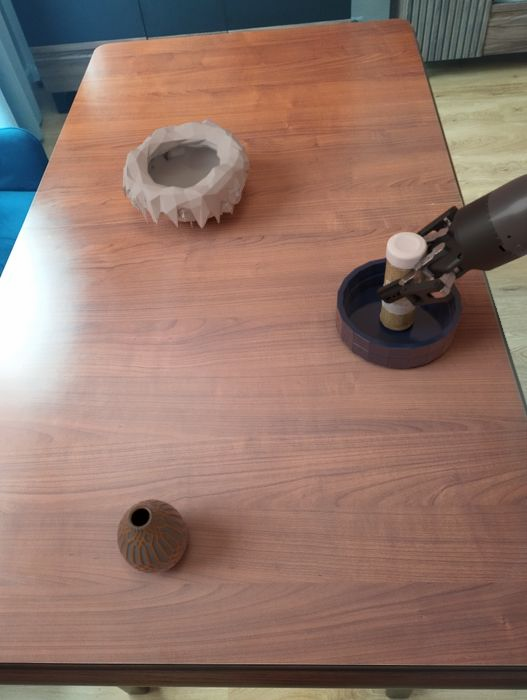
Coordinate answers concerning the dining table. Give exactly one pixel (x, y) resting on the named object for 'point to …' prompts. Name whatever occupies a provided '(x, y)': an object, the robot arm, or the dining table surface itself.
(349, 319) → the pan
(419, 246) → the sprinkles bottle
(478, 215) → the robot arm
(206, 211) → the bowl
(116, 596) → the dining table surface
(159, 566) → the vase
